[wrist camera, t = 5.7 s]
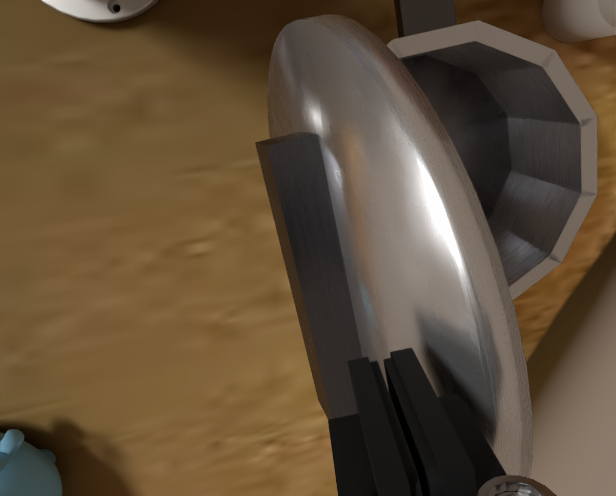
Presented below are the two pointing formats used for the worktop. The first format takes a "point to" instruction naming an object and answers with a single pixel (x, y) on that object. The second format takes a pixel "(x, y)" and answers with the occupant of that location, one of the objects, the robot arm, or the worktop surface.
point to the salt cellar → (579, 19)
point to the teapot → (26, 468)
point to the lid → (387, 232)
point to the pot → (507, 130)
